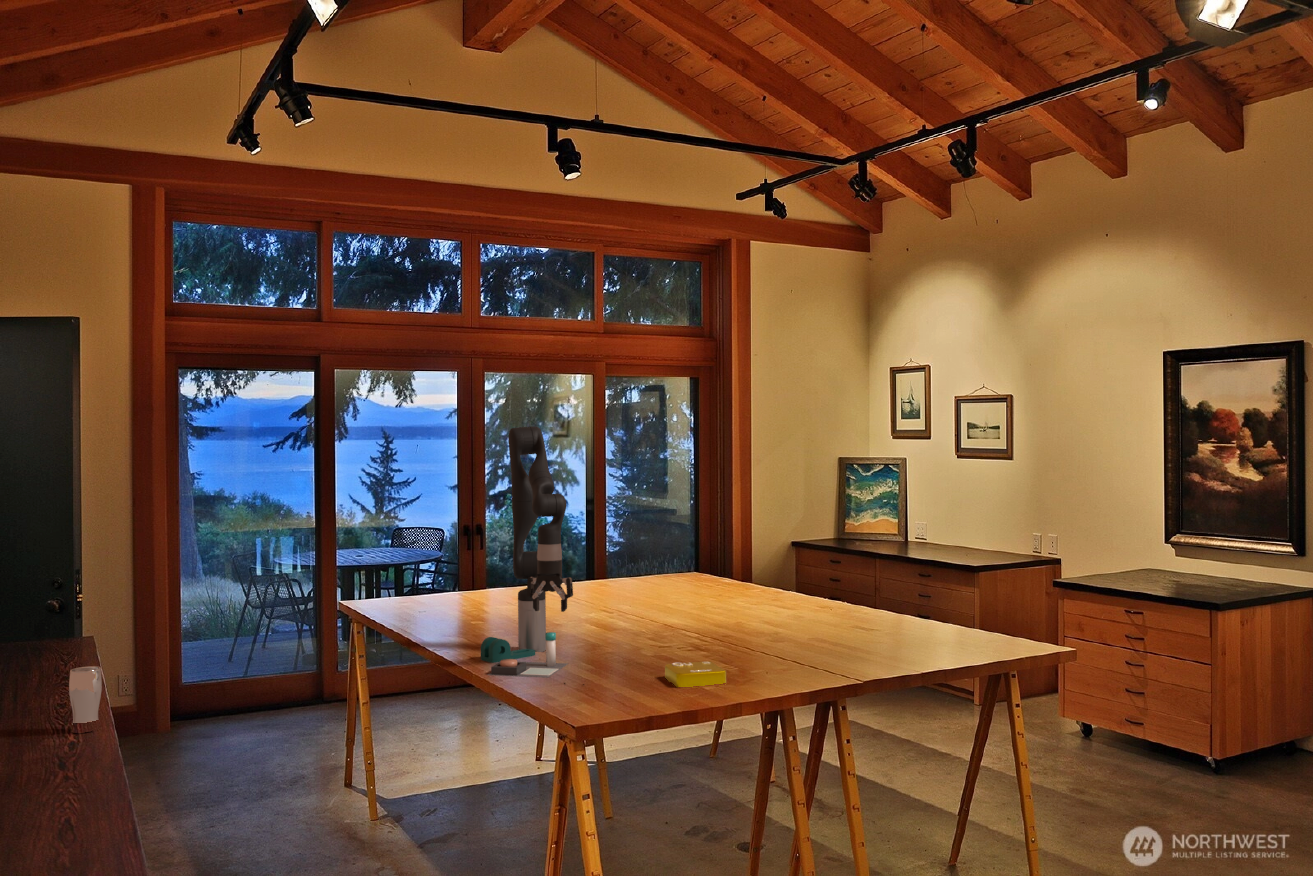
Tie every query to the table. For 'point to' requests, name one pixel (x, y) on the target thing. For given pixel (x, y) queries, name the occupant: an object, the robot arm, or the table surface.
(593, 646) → the table surface
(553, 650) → the marker
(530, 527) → the robot arm
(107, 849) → the table surface
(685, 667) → the element tile
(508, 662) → the button
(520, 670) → the drawing board
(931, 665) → the table surface
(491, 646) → the bracket
